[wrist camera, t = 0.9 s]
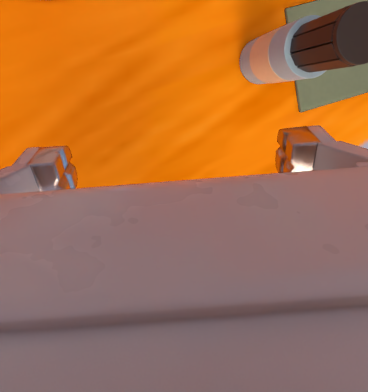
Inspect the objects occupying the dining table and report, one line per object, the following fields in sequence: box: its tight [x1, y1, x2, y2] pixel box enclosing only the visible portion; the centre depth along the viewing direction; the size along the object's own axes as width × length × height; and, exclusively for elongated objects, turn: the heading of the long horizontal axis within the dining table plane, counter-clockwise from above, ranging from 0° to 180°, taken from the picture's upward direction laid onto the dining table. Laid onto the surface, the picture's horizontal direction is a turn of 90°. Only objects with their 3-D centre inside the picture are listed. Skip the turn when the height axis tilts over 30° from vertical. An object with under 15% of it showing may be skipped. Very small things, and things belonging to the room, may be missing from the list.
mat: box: [285, 0, 368, 112], centre depth 51 cm, size 15×20×1 cm
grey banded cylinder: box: [240, 15, 327, 84], centre depth 40 cm, size 6×6×19 cm
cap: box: [290, 1, 368, 73], centre depth 32 cm, size 5×5×8 cm
